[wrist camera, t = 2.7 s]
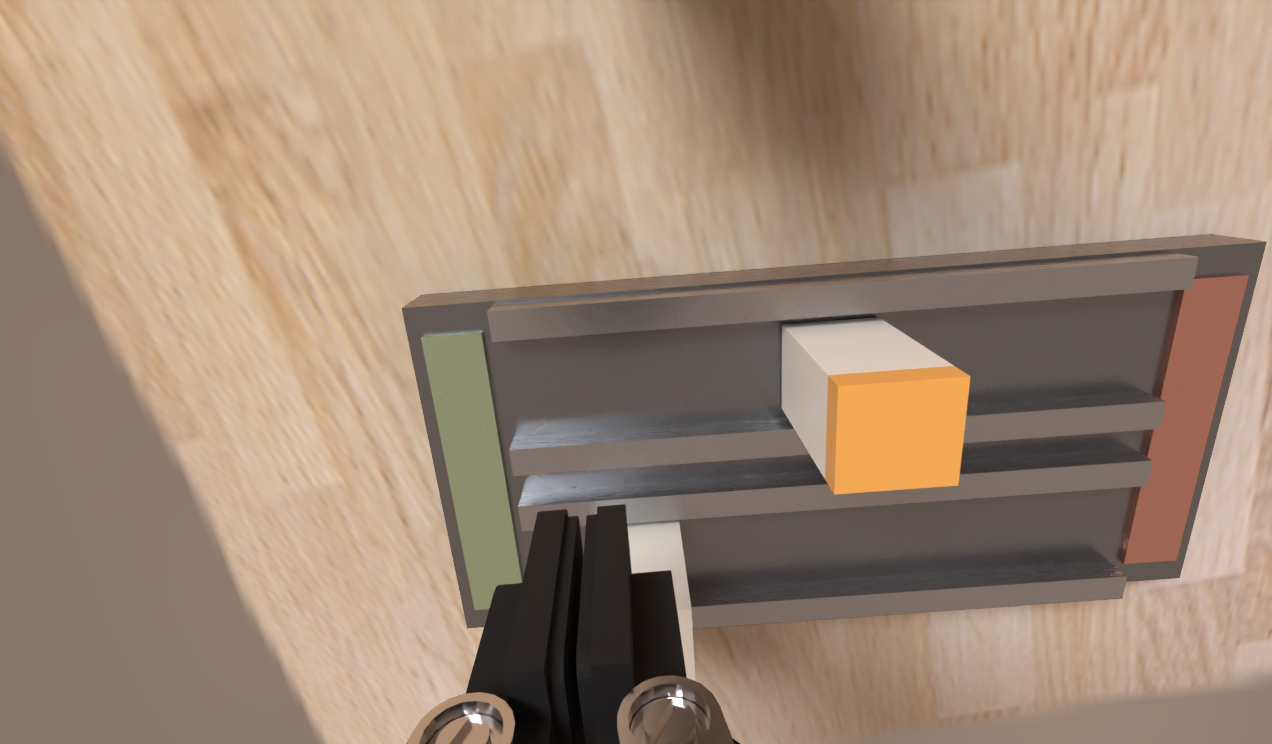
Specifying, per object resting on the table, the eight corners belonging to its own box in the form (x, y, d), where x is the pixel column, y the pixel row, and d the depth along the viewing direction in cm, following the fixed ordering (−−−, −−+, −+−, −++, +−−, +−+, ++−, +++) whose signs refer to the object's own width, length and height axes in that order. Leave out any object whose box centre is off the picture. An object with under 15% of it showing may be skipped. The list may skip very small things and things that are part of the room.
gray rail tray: (1211, 234, 22) (1298, 245, 19) (1139, 547, 26) (1201, 594, 23) (420, 294, 22) (390, 315, 19) (478, 594, 26) (460, 647, 24)
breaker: (678, 515, 23) (691, 609, 18) (682, 582, 24) (695, 688, 19) (591, 521, 23) (582, 616, 18) (599, 588, 24) (592, 695, 19)
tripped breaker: (878, 316, 20) (970, 376, 15) (873, 401, 21) (958, 485, 16) (781, 324, 21) (837, 386, 15) (781, 408, 22) (834, 494, 16)
